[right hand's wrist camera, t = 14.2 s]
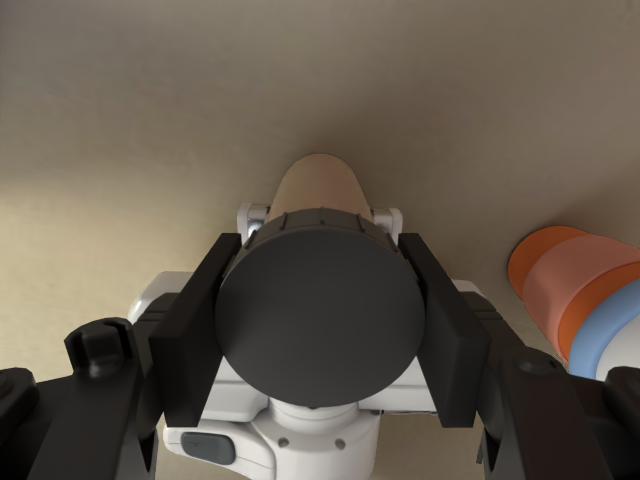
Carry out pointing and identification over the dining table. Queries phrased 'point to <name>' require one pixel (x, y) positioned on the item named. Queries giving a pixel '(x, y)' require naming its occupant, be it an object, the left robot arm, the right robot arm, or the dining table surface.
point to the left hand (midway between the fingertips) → (319, 208)
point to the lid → (319, 309)
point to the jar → (319, 188)
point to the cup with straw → (581, 297)
